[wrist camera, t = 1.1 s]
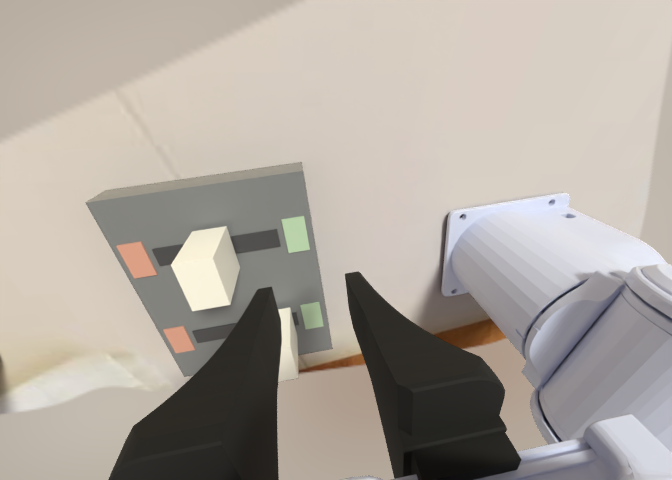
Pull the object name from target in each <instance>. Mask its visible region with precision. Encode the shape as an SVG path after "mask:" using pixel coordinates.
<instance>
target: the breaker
mask: <svg viewBox="0 0 672 480" xmlns="http://www.w3.org/2000/svg"><path fill="white" fill-rule="evenodd" d="M278 311H279V315H280V318H281V332H282V344H281V356H280V367H279V377H278V382H282V381H287V380H293V379H297V378H299V372H298V340H297V333H296V329H295V325H294V321H293V317H292V313H291V309H290V307H289V308H284V309H278Z"/></svg>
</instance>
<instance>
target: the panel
mask: <svg viewBox="0 0 672 480" xmlns="http://www.w3.org/2000/svg"><path fill="white" fill-rule="evenodd" d="M86 204H87V206H88V208H89V210H90V212H91V213H92V215H93V217H94V219H95V220H96V222H97V224H98V226H99V227H100V229H101V231H102V233H103V234H104V236H105V238H106V240H107V241H108V243H109V245H110V247H111V248H112V250H113V252H114V254H115V256H116V257H117V259H118V261H119V263H120V264H121V266H122V268H123V270H124V271H125V273H126V275H127V277H128V278H129V280H130V282H131V284H132V285H133V287H134V289H135V291H136V292H137V294H138V296H139V298H140V299H141V301H142V303H143V305H144V307H145V308H146V310H147V312H148V314H149V315H150V317H151V319H152V321H153V322H154V324H155V326H156V328H157V329H158V331H159V333H160V335H161V336H162V338H163V340H164V342H165V343H166V345H167V347H168V349H169V351H170V352H171V354H172V356H173V358H174V359H175V361H176V363H177V365H178V366H179V368H180V370H181V372H182V373H183V375H184V377H186V376H191V375H195V374H196V373H197V372H198V371H199V370H200V369H201V368H202V366H203V365H204V364H205V363H206V362H207V361H208V360H209V359H210V358H211V357H212V356H213V354H214V353H215V352H216V351H217V350H218V348H219V347H220V346H221V345H222V343H223V342H224V341H225V339H226V338H227V337H228V335H229V334H230V332H231V331H232V330H233V328H234V327H235V325H236V324H237V322H238V321H239V319H240V318H241V316H242V315H243V313H244V311H245V310H246V308H247V306H248V305H249V303H250V301H251V299H252V298H253V296H254V294H255V292H256V291H257V290H258V289H260V288H266V287H272V289H273V293H274V297H275V300H276V304H277V308H278V309H284V308H289V307H290V309H291V313H292V317H293V321H294V325H295V329H296V333H297V340H298V355H302V354H307V353H313V352H318V351H323V350H329V349H333V348H332V342H331V336H330V330H329V324H328V318H327V312H326V306H325V300H324V294H323V288H322V282H321V276H320V270H319V264H318V258H317V252H316V246H315V239H314V233H313V227H312V221H311V215H310V209H309V203H308V197H307V191H306V185H305V179H304V173H303V167H302V162H300V163H293V164H286V165H279V166H272V167H265V168H258V169H251V170H244V171H237V172H231V173H224V174H217V175H210V176H203V177H196V178H189V179H182V180H175V181H168V182H161V183H154V184H147V185H141V186H134V187H127V188H120V189H113V190H106V191H104V192H102V193H101V194H99V195H97V196H96V197H94V198H92V199H91V200H89V201H87V202H86ZM224 226H227V229H228V232H229V235H230V238H231V241H232V244H233V247H234V250H235V254H236V257H237V260H238V263H239V266H240V270H239V273H238V277H237V281H236V285H235V289H234V293H233V296H232V300H231V304H230V305H226V306H221V307H215V308H209V309H203V310H198V311H192V310H191V307H190V305H189V303H188V301H187V299H186V297H185V295H184V292H183V290H182V288H181V286H180V284H179V282H178V280H177V277H176V275H175V273H174V271H173V269H172V267H171V264H172V262H173V261H174V259H175V258H176V256H177V254H178V253H179V251H180V250H181V248H182V247H183V245H184V244H185V242H186V240H187V239H188V237H189V236H190V234H191V233H192V231H198V230H205V229H211V228H218V227H224Z"/></svg>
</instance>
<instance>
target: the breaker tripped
mask: <svg viewBox="0 0 672 480" xmlns="http://www.w3.org/2000/svg"><path fill="white" fill-rule="evenodd" d="M171 267H172V269H173V271H174V273H175V275H176V277H177V280H178V282H179V284H180V286H181V288H182V290H183V292H184V295H185V297H186V299H187V301H188V303H189V305H190V307H191V310H192V311H198V310H203V309H209V308H215V307H221V306H226V305H230V304H231V300H232V296H233V293H234V289H235V285H236V281H237V277H238V273H239V270H240V266H239V263H238V260H237V257H236V254H235V250H234V247H233V244H232V241H231V238H230V235H229V232H228V229H227V226H224V227H218V228H211V229H205V230H198V231H192V233H191V234H190V236H189V237H188V239H187V240H186V242H185V244H184V245H183V247H182V248H181V250H180V251H179V253H178V254H177V256H176V258H175V259H174V261H173V262H172V264H171Z"/></svg>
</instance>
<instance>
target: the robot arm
mask: <svg viewBox="0 0 672 480" xmlns="http://www.w3.org/2000/svg"><path fill="white" fill-rule="evenodd" d="M550 201H551V202H550ZM569 201H570V195H568V194H566V193H558V194H552V195H546V196H540V197H534V198H527V199H521V200H515V201H509V202H503V203H496V204H490V205H484V206H478V207H472V208H465V209H459V210H454V211H452V212H450V213H449V215H448V220H447V231H446V242H445V254H444V265H443V277H442V288H441V292H442V294H443V295H444V296H445V297H449V296H454V295H460V294H465V293H470V294H471V296H472V297H473V298H474V299H475V300H476V301H477V303H478V304H479V305H480V306H481V307H482V309H483V310H484V311H485V312H486V313H487V315H488V316H489V317H490V318H491V319H492V320H493V322H494V323H495V324H496V325H497V326H498V328H499V329H500V330H501V331H502V332H503V334H504V335H505V336H506V337H507V338H508V339H509V341H510V342H511V343H512V344H513V345H514V346H515V348H516V349H517V350H518V351H519V352H520V354H521V355H522V356H523V357H524V358H525V360H526V364H525V367H524V368H523V370H522V373H523V374H524V375H525V377H526V378H527V379H528V380H529V382H530V383H531V384H532V386H533V387H534V388H535V390H534V391H533V393H532V395H531V400H530V406H531V411H532V415H533V418H534V420H535V422H536V425H537V427H538V429H539V431H540V432H541V434H542V436H543V437H544V439H545V440H546V442H547V443H548V445H544V446H540V447H535V448H531V449H526V450H522V451H518V452H517V451H516V450H515V448H514V446H513V445H512V443H511V441H510V440H509V438H508V437H507V435H506V433H505V432H506V430H507V429H506V426H505V424H504V422H503V421H502V419H501V418H500V416H499V414H500V410H501V407H502V404H503V400H504V396H505V389H504V387H503V385H502V383H501V382H500V380H499V379H498V377H497V376H496V375H495V373H494V372H493V371H492V370H491V369H490V367H489V366H488V365H487V364H486V363H485V361H484V360H483V359H482V358H481V357H479V356H477V355H475V354H472V353H469V352H467V351H465V350H462V349H460V348H458V347H455V346H453V345H451V344H449V343H447V342H445V341H443V340H441V339H439V338H437V337H435V336H434V335H432V334H430V333H429V332H427V331H425V330H423V329H422V328H420V327H419V326H417V325H416V324H414V323H413V322H411V321H410V320H409V319H407V318H406V317H404V316H403V315H402V314H401V313H399V312H398V311H397V310H396V309H395V308H393V307H392V306H391V305H390V304H389V303H388V302H387V301H386V300H384V299H383V298H382V297H381V296H380V295H379V294H378V293H377V292H376V291H375V290H374V289H373V287H372V286H371V285H370V284H369V283H368V282H367V281H366V279H365V278H364V277H363V276H362V274H361V273H360V272H353V273H347V274H345V278H346V287H347V296H348V304H349V311H350V315H351V320H352V324H353V328H354V331H355V334H356V337H357V340H358V343H359V345H360V348H361V351H362V354H363V357H364V360H365V363H366V365H367V368H368V371H369V374H370V378H371V381H372V385H373V389H374V393H375V397H376V401H377V405H378V410H379V414H380V418H381V422H382V426H383V430H384V435H385V438H386V443H387V448H388V452H389V456H390V461H391V465H392V469H393V474H394V478H395V479H393V480H672V265H669V264H667V263H666V261H665V260H664V259H663V258H662V257H661V255H660V254H659V253H658V252H657V251H655V250H654V249H653V248H652V247H651V246H649V245H648V244H646V243H645V242H643V241H641V240H639V239H637V238H635V237H633V236H631V235H628V234H626V233H624V232H622V231H620V230H617V229H615V228H613V227H611V226H609V225H606V224H604V223H602V222H600V221H598V220H596V219H593V218H591V217H589V216H587V215H585V214H582V213H580V212H578V211H576V210H574V209H571V208H569V207H568V205H569ZM549 202H550V203H549ZM462 214H464V215H463V217H462V218H460V216H461V215H462ZM453 289H454V290H453ZM452 290H453V291H452ZM281 344H282V332H281V318H280V315H279V311H278V308H277V304H276V300H275V297H274V293H273V289H272V287H266V288H260V289H258V290H257V291H256V292H255V294H254V296H253V298H252V299H251V301H250V303H249V305H248V306H247V308H246V310H245V311H244V313H243V315H242V316H241V318H240V319H239V321H238V322H237V324H236V325H235V327H234V328H233V330H232V331H231V332H230V334H229V335H228V337H227V338H226V339H225V341H224V342H223V343H222V345H221V346H220V347H219V348H218V350H217V351H216V352H215V353H214V354H213V356H212V357H211V358H210V359H209V360H208V361H207V362H206V363H205V364H204V365H203V366H202V368H201V369H200V370H199V371H198V372H197V373H196V374H195V375H194V376H193V377H192V378H191V379H190V380H189V381H188V382H187V383H185V384H184V385H183V386H182V387H181V388H180V389H179V390H178V391H177V392H175V393H174V394H173V395H172V396H171V397H170V398H169V399H167V400H166V401H165V402H164V403H163V404H161V405H160V406H159V407H158V408H156V409H155V410H154V411H152V412H151V413H150V414H149V415H147V416H146V417H145V418H143V419H142V420H141V421H140V422H138V423H137V424H136V425H134V426H133V428H132V430H131V432H130V434H129V435H128V437H127V439H126V441H125V443H124V446H123V448H122V450H121V453H120V455H119V457H118V459H117V461H116V464H115V466H114V468H113V470H112V473H111V475H110V477H109V480H278V452H277V451H278V449H277V387H278V377H279V367H280V356H281ZM342 480H382V479H380V478H376V477H372V476H360V477H351V478H346V479H342Z"/></svg>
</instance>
